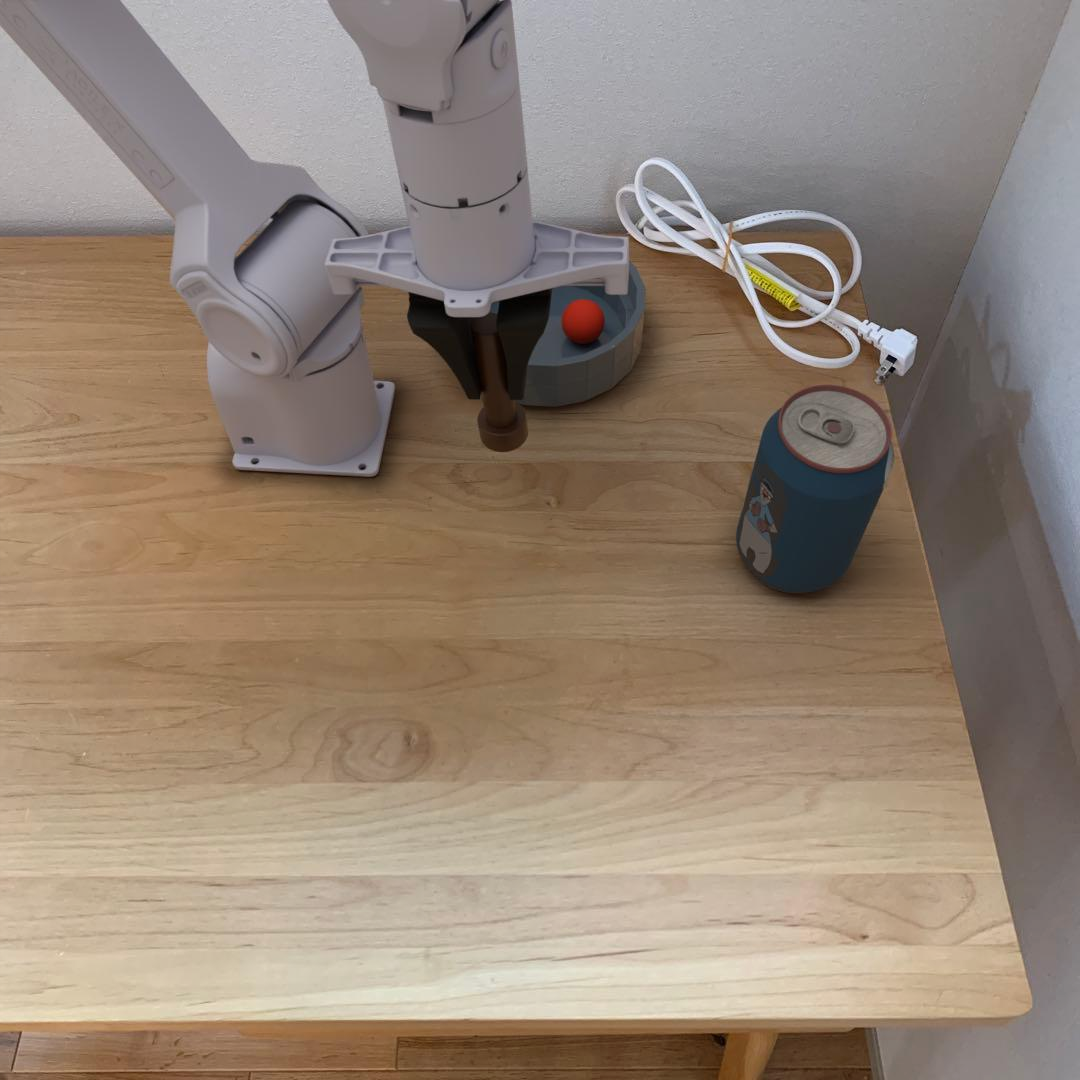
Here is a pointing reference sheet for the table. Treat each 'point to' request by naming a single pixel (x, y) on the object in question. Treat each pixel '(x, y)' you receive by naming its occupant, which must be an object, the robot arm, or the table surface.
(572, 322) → the red ball
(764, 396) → the table surface
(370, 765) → the table surface
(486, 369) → the muddler
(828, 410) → the soda can
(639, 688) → the table surface
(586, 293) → the bowl
